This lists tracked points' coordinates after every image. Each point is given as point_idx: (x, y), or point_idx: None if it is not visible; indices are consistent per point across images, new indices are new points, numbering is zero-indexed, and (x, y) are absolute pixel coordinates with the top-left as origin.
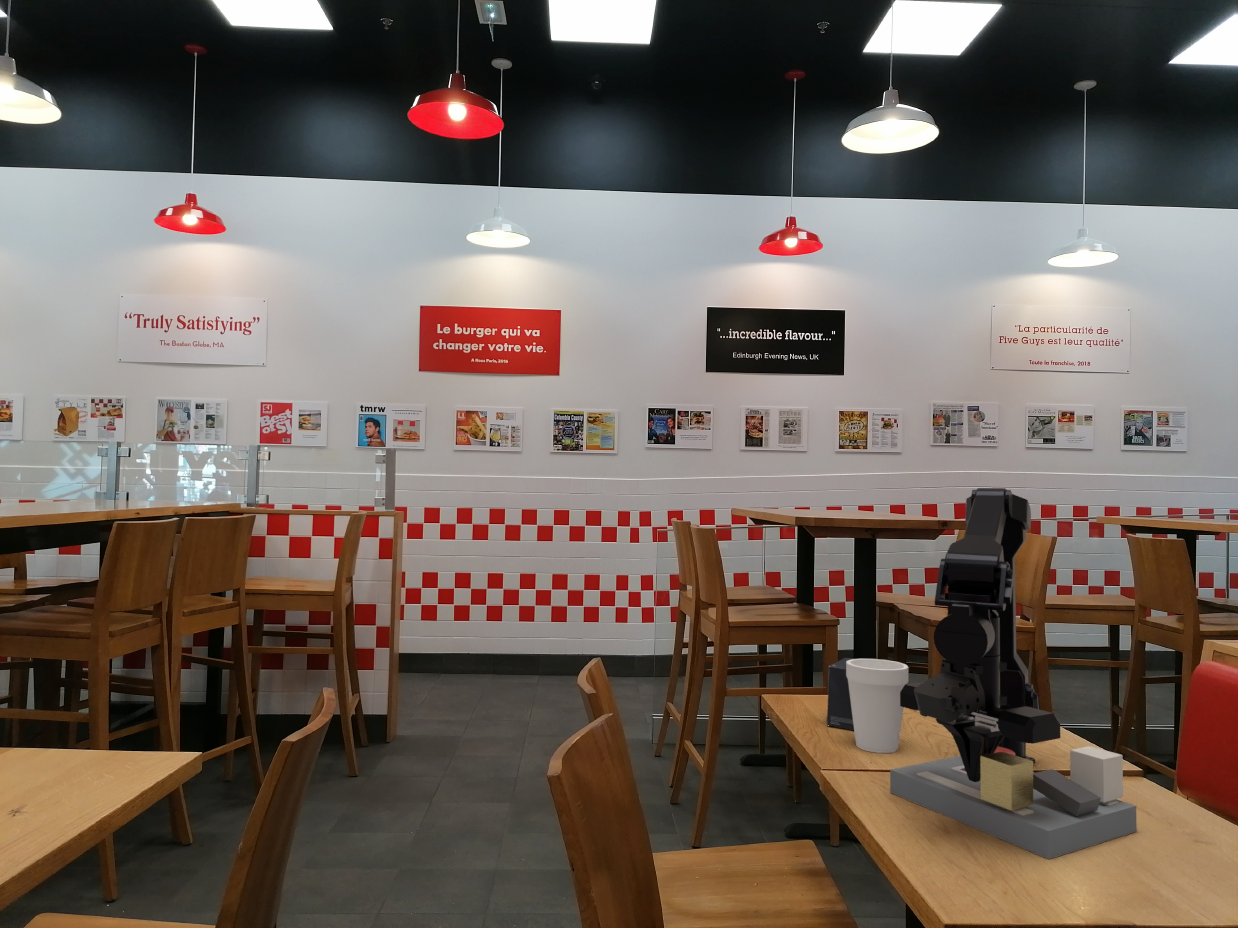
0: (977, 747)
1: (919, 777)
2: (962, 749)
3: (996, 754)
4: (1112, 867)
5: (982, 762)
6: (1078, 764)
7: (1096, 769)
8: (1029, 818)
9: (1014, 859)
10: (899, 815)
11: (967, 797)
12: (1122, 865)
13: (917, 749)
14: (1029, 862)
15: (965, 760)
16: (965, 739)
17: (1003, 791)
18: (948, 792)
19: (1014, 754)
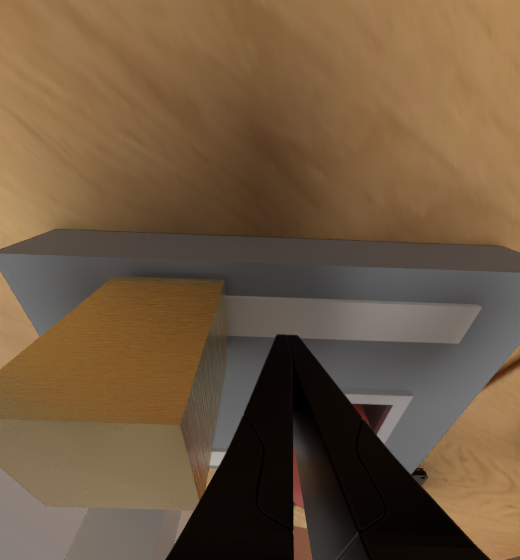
0: (227, 490)
1: (461, 294)
2: (345, 438)
3: (174, 480)
4: (14, 300)
5: (177, 385)
6: (140, 528)
7: (96, 529)
8: (87, 287)
9: (62, 148)
10: (419, 112)
11: (275, 277)
12: (23, 320)
13: (511, 446)
14: (41, 169)
15: (318, 386)
16: (352, 537)
17: (113, 306)
18: (335, 265)
19: (296, 501)
